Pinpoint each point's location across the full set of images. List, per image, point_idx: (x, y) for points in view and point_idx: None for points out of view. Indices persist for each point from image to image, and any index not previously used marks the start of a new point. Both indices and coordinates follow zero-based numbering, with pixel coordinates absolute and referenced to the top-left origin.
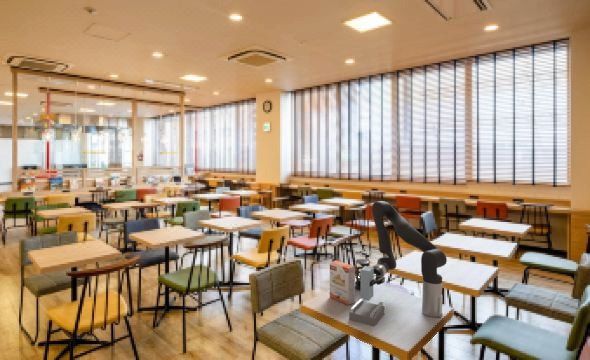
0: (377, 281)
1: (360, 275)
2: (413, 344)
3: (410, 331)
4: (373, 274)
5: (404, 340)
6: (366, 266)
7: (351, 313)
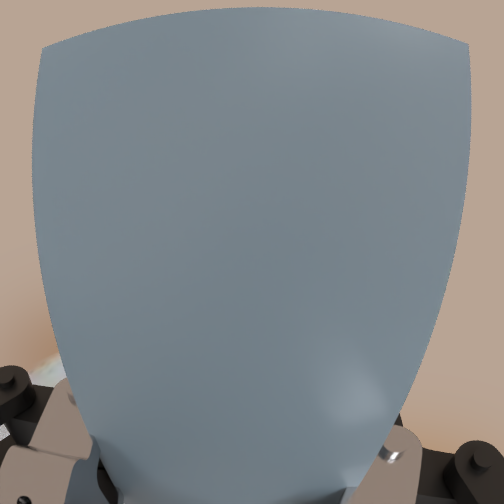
0: (35, 391)
1: (494, 483)
2: (35, 369)
3: (5, 436)
4: (58, 325)
5: (54, 386)
6: (371, 37)
7: None
